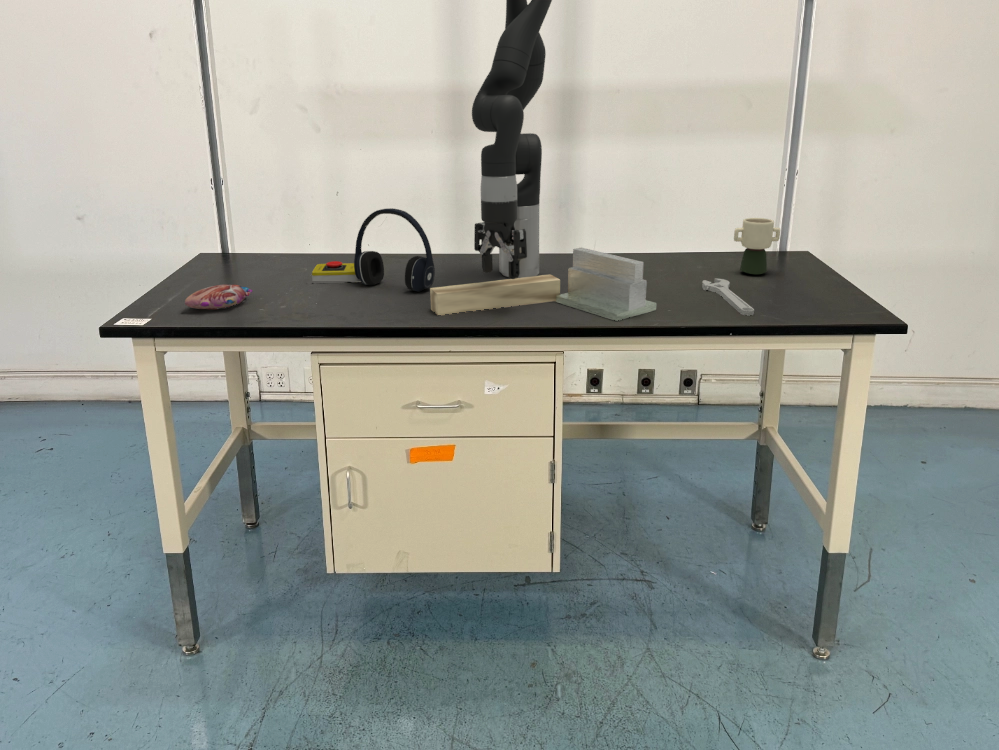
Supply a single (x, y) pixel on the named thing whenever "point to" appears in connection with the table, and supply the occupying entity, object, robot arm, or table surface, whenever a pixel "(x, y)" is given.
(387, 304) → the table surface
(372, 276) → the headphones
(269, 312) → the table surface
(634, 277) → the stand
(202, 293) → the anatomical model
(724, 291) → the adjustable wrench
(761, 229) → the trophy cup
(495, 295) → the pine rod
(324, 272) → the emergency button
